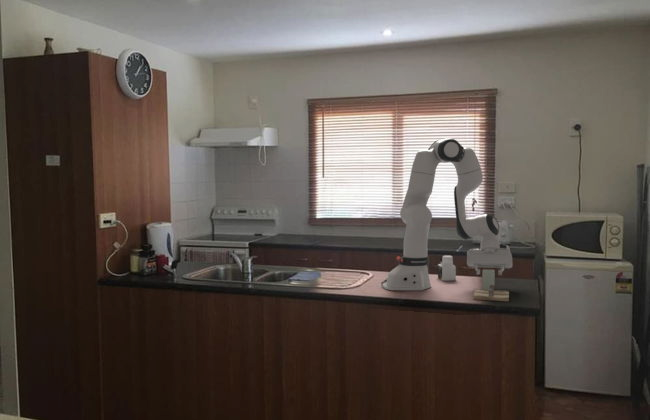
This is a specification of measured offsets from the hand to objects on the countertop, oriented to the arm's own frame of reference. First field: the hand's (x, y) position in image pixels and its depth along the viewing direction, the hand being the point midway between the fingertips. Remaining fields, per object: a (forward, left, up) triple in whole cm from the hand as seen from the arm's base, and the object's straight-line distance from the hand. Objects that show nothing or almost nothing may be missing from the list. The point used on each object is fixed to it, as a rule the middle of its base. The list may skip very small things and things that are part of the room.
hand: (489, 273), depth 253 cm
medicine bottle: (-11, +26, -7) cm, 29 cm away
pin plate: (-5, -15, -7) cm, 17 cm away
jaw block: (-1, -2, -7) cm, 7 cm away
